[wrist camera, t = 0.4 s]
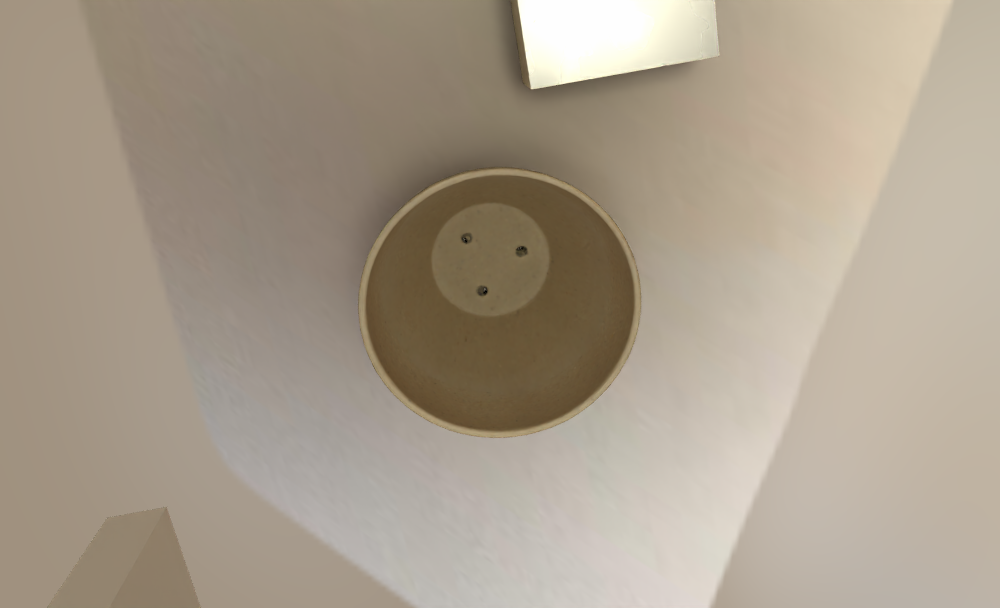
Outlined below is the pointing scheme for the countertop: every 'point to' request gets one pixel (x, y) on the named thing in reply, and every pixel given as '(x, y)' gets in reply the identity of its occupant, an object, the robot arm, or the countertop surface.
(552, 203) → the beige planter bowl
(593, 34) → the grey block fixture
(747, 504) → the countertop surface
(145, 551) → the robot arm
